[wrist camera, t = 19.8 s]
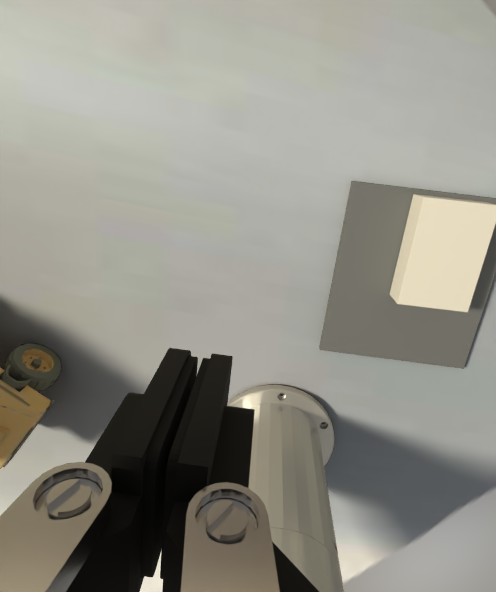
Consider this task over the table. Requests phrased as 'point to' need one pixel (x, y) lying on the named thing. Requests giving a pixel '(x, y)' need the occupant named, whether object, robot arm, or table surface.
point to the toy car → (24, 395)
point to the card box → (442, 252)
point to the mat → (378, 280)
